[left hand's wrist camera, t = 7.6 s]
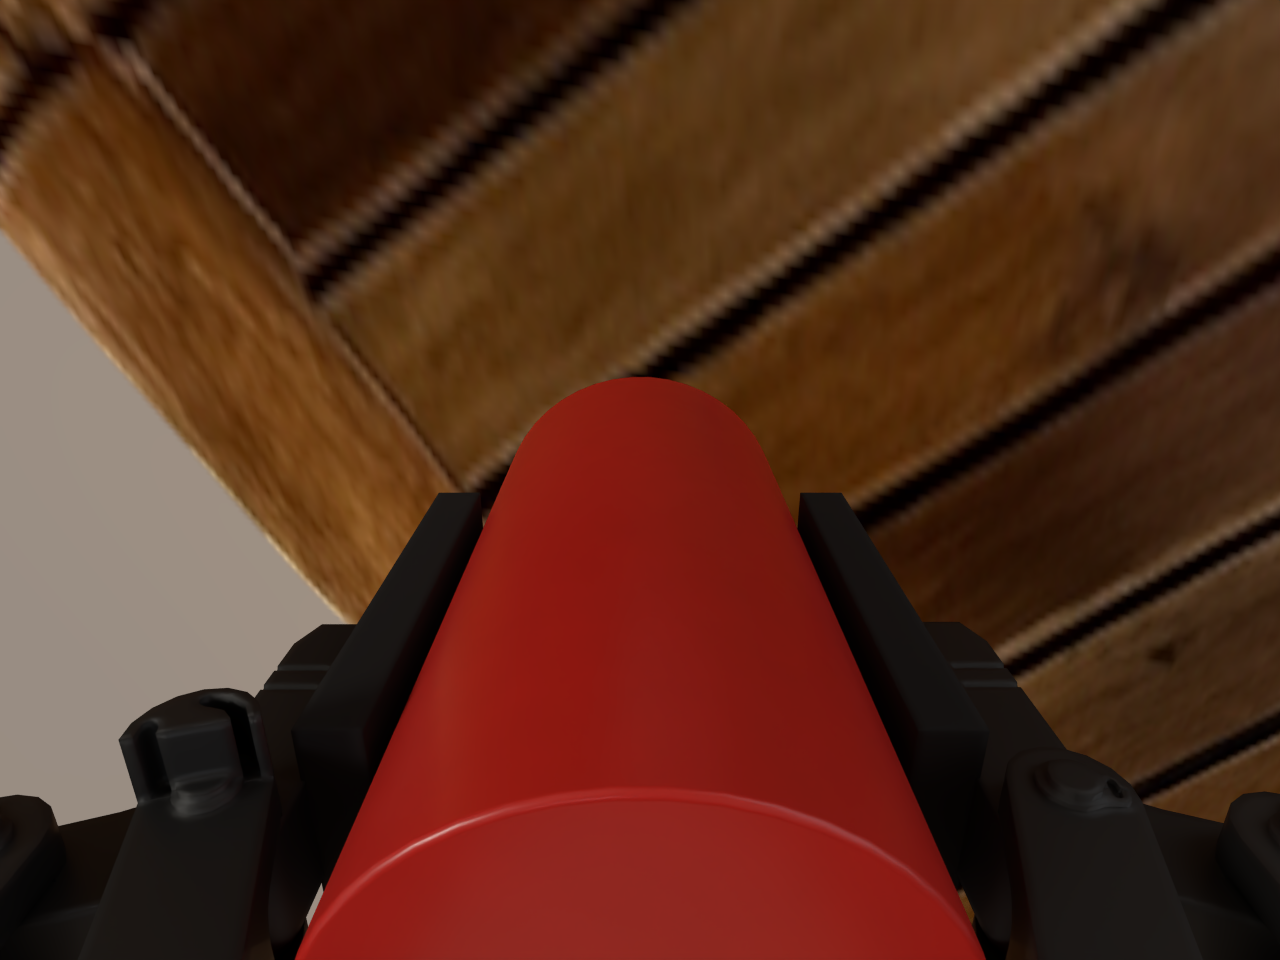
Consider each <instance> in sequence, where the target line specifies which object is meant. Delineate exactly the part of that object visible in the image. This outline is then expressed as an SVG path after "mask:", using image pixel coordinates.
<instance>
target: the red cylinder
mask: <svg viewBox="0 0 1280 960" xmlns="http://www.w3.org/2000/svg"><path fill="white" fill-rule="evenodd" d="M295 960H986V958H985V955H984V952H983V950H982V948H981V945H980V943H979V941H978V939H977V936H976V934H975V932H974V929H973V927H972V925H971V923H970V920H969V918H968V916H967V914H966V911H965V909H964V907H963V904H962V902H961V900H960V898H959V895H958V893H957V891H956V889H955V886H954V884H953V882H952V879H951V877H950V875H949V873H948V870H947V868H946V866H945V864H944V861H943V859H942V857H941V854H940V852H939V850H938V848H937V845H936V843H935V841H934V839H933V836H932V834H931V832H930V829H929V827H928V825H927V823H926V820H925V818H924V816H923V814H922V811H921V809H920V807H919V804H918V802H917V800H916V798H915V795H914V793H913V791H912V789H911V786H910V784H909V782H908V779H907V777H906V775H905V773H904V770H903V768H902V766H901V764H900V761H899V759H898V757H897V754H896V752H895V750H894V748H893V745H892V743H891V741H890V739H889V736H888V734H887V732H886V729H885V727H884V725H883V723H882V720H881V718H880V716H879V714H878V711H877V709H876V707H875V704H874V702H873V700H872V698H871V695H870V693H869V691H868V689H867V686H866V684H865V682H864V679H863V677H862V675H861V673H860V670H859V668H858V666H857V664H856V661H855V659H854V657H853V654H852V652H851V650H850V648H849V645H848V643H847V641H846V639H845V636H844V634H843V632H842V629H841V627H840V625H839V623H838V620H837V618H836V616H835V613H834V611H833V609H832V607H831V604H830V602H829V600H828V598H827V595H826V593H825V591H824V588H823V586H822V584H821V582H820V579H819V577H818V575H817V573H816V570H815V568H814V566H813V563H812V561H811V559H810V557H809V554H808V552H807V550H806V548H805V545H804V543H803V541H802V538H801V536H800V534H799V532H798V529H797V527H796V525H795V523H794V520H793V518H792V516H791V513H790V511H789V509H788V507H787V504H786V502H785V500H784V498H783V495H782V493H781V491H780V488H779V486H778V484H777V482H776V479H775V477H774V475H773V473H772V470H771V468H770V466H769V463H768V461H767V459H766V457H765V454H764V452H763V450H762V448H761V447H760V445H759V443H758V441H757V439H756V438H755V436H754V435H753V433H752V432H751V431H750V429H749V428H748V427H747V425H746V424H745V423H744V422H743V421H742V420H741V419H740V418H739V417H738V416H737V415H736V414H735V413H734V412H733V411H732V410H731V409H729V408H728V407H727V406H725V405H724V404H723V403H722V402H720V401H719V400H717V399H716V398H714V397H712V396H710V395H709V394H707V393H705V392H703V391H701V390H699V389H696V388H694V387H691V386H689V385H686V384H683V383H679V382H675V381H671V380H667V379H659V378H652V377H629V378H621V379H613V380H609V381H605V382H601V383H597V384H594V385H591V386H589V387H587V388H584V389H582V390H579V391H577V392H575V393H573V394H572V395H570V396H568V397H566V398H565V399H563V400H561V401H560V402H559V403H557V404H556V405H555V406H553V407H552V408H551V409H549V410H548V411H547V412H546V413H545V414H544V415H543V416H542V417H541V418H540V419H539V420H538V421H537V422H536V423H535V424H534V426H533V427H532V428H531V430H530V431H529V432H528V434H527V435H526V436H525V438H524V440H523V442H522V443H521V445H520V447H519V449H518V451H517V453H516V455H515V457H514V459H513V462H512V464H511V466H510V468H509V471H508V473H507V475H506V478H505V480H504V482H503V484H502V487H501V489H500V491H499V494H498V496H497V498H496V500H495V503H494V505H493V507H492V510H491V512H490V514H489V516H488V519H487V521H486V523H485V525H484V528H483V530H482V532H481V535H480V537H479V539H478V541H477V544H476V546H475V548H474V551H473V553H472V555H471V557H470V560H469V562H468V564H467V567H466V569H465V571H464V573H463V576H462V578H461V580H460V582H459V585H458V587H457V589H456V592H455V594H454V596H453V598H452V601H451V603H450V605H449V608H448V610H447V612H446V614H445V617H444V619H443V621H442V623H441V626H440V628H439V630H438V633H437V635H436V637H435V639H434V642H433V644H432V646H431V649H430V651H429V653H428V655H427V658H426V660H425V662H424V665H423V667H422V669H421V671H420V674H419V676H418V678H417V680H416V683H415V685H414V687H413V690H412V692H411V694H410V696H409V699H408V701H407V703H406V706H405V708H404V710H403V712H402V715H401V717H400V719H399V722H398V724H397V726H396V728H395V731H394V733H393V735H392V737H391V740H390V742H389V744H388V747H387V749H386V751H385V753H384V756H383V758H382V760H381V763H380V765H379V767H378V769H377V772H376V774H375V776H374V779H373V781H372V783H371V785H370V788H369V790H368V792H367V794H366V797H365V799H364V801H363V804H362V806H361V808H360V810H359V813H358V815H357V817H356V820H355V822H354V824H353V826H352V829H351V831H350V833H349V835H348V838H347V840H346V842H345V845H344V847H343V849H342V851H341V854H340V856H339V858H338V861H337V863H336V865H335V867H334V870H333V872H332V874H331V877H330V879H329V881H328V883H327V886H326V888H325V890H324V892H323V895H322V897H321V900H320V902H319V904H318V906H317V909H316V911H315V913H314V915H313V918H312V920H311V922H310V924H309V927H308V929H307V931H306V934H305V936H304V938H303V940H302V943H301V945H300V947H299V949H298V952H297V955H296V958H295Z"/></svg>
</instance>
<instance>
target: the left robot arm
mask: <svg viewBox="0 0 1280 960" xmlns="http://www.w3.org/2000/svg"><path fill="white" fill-rule="evenodd" d="M482 530H483V522H482V510H481V498H480V493H439V494H438V495H437V497H436V498H435V500H434V502H433V503H432V505H431V506H430V508H429V510H428V511H427V513H426V514H425V516H424V518H423V519H422V521H421V523H420V524H419V526H418V527H417V529H416V531H415V532H414V534H413V535H412V537H411V539H410V540H409V542H408V543H407V545H406V547H405V548H404V550H403V551H402V553H401V555H400V556H399V558H398V559H397V561H396V563H395V564H394V566H393V567H392V569H391V571H390V572H389V574H388V575H387V577H386V579H385V580H384V582H383V583H382V585H381V587H380V588H379V590H378V591H377V593H376V595H375V596H374V598H373V599H372V601H371V603H370V604H369V606H368V607H367V609H366V611H365V612H364V614H363V615H362V617H361V619H360V620H359V622H358V623H357V624H322V625H320V626H319V627H318V628H316V629H315V630H313V631H312V632H310V633H309V634H308V635H306V636H305V637H303V638H302V639H300V640H299V641H297V642H296V643H295V644H294V645H293V646H292V647H291V649H290V650H289V652H288V653H287V654H286V656H285V657H284V658H283V660H282V661H281V662H280V664H279V665H278V670H277V671H274V672H273V673H272V675H271V676H270V677H269V679H268V680H267V682H266V683H265V684H264V689H263V690H260V691H259V693H258V694H257V695H256V697H255V698H254V697H253V696H252V695H250V694H249V693H248V692H244V691H240V690H235V689H231V688H220V689H204V690H200V691H197V692H192V693H189V694H185V695H181V696H177V697H175V698H173V699H171V700H169V701H166V702H164V703H162V704H160V705H158V706H156V707H153V708H152V709H150V710H149V711H147V712H146V713H145V714H143V715H142V716H141V717H139V718H138V719H136V720H135V721H134V722H132V723H131V724H130V726H129V727H128V728H127V730H126V731H125V732H124V734H123V735H122V736H121V737H120V739H119V743H120V746H121V749H122V753H123V756H124V759H125V763H126V766H127V769H128V772H129V776H130V779H131V782H132V785H133V789H134V792H135V795H136V798H137V802H138V804H137V807H136V808H132V809H129V810H126V811H122V812H119V813H114V814H110V815H106V816H101V817H97V818H92V819H88V820H84V821H79V822H75V823H70V824H66V825H62V826H58V825H57V822H56V819H55V817H54V814H53V811H52V808H51V806H50V805H48V804H47V803H46V802H44V801H43V800H42V799H40V798H39V797H33V796H24V795H12V796H6V797H0V960H295V958H296V955H297V952H298V949H299V947H300V945H301V943H302V940H303V938H304V936H305V934H306V931H307V929H308V924H307V920H306V916H307V914H308V912H309V910H310V907H311V905H312V903H313V901H314V898H315V896H316V894H317V892H318V889H319V887H320V885H321V883H322V887H323V892H324V890H325V888H326V886H327V883H328V881H329V879H330V877H331V874H332V872H333V870H334V867H335V865H336V863H337V861H338V858H339V856H340V854H341V851H342V849H343V847H344V845H345V842H346V840H347V838H348V835H349V833H350V831H351V829H352V826H353V824H354V822H355V820H356V817H357V815H358V813H359V810H360V808H361V806H362V804H363V801H364V799H365V797H366V794H367V792H368V790H369V788H370V785H371V783H372V781H373V779H374V776H375V774H376V772H377V769H378V767H379V765H380V763H381V760H382V758H383V756H384V753H385V751H386V749H387V747H388V744H389V742H390V740H391V737H392V735H393V733H394V731H395V728H396V726H397V724H398V722H399V719H400V717H401V715H402V712H403V710H404V708H405V706H406V703H407V701H408V699H409V696H410V694H411V692H412V690H413V687H414V685H415V683H416V680H417V678H418V676H419V674H420V671H421V669H422V667H423V665H424V662H425V660H426V658H427V655H428V653H429V651H430V649H431V646H432V644H433V642H434V639H435V637H436V635H437V633H438V630H439V628H440V626H441V623H442V621H443V619H444V617H445V614H446V612H447V610H448V608H449V605H450V603H451V601H452V598H453V596H454V594H455V592H456V589H457V587H458V585H459V582H460V580H461V578H462V576H463V573H464V571H465V569H466V567H467V564H468V562H469V560H470V557H471V555H472V553H473V551H474V548H475V546H476V544H477V541H478V539H479V537H480V535H481V532H482ZM798 532H799V534H800V536H801V538H802V541H803V543H804V545H805V548H806V550H807V552H808V554H809V557H810V559H811V561H812V563H813V566H814V568H815V570H816V573H817V575H818V577H819V579H820V582H821V584H822V586H823V588H824V591H825V593H826V595H827V598H828V600H829V602H830V604H831V607H832V609H833V611H834V613H835V616H836V618H837V620H838V623H839V625H840V627H841V629H842V632H843V634H844V636H845V639H846V641H847V643H848V645H849V648H850V650H851V652H852V654H853V657H854V659H855V661H856V664H857V666H858V668H859V670H860V673H861V675H862V677H863V679H864V682H865V684H866V686H867V689H868V691H869V693H870V695H871V698H872V700H873V702H874V704H875V707H876V709H877V711H878V714H879V716H880V718H881V720H882V723H883V725H884V727H885V729H886V732H887V734H888V736H889V739H890V741H891V743H892V745H893V748H894V750H895V752H896V754H897V757H898V759H899V761H900V764H901V766H902V768H903V770H904V773H905V775H906V777H907V779H908V782H909V784H910V786H911V789H912V791H913V793H914V795H915V798H916V800H917V802H918V804H919V807H920V809H921V811H922V814H923V816H924V818H925V820H926V823H927V825H928V827H929V829H930V832H931V834H932V836H933V839H934V841H935V843H936V845H937V848H938V850H939V852H940V854H941V857H942V859H943V861H944V864H945V866H946V868H947V870H948V873H949V875H950V877H951V879H952V882H953V884H954V886H955V889H956V891H957V889H958V884H959V880H960V882H961V885H962V887H963V889H964V891H965V893H966V896H967V898H968V900H969V902H970V905H971V907H972V909H973V911H974V913H975V915H974V920H973V924H972V927H973V929H974V932H975V934H976V936H977V939H978V941H979V943H980V945H981V948H982V950H983V952H984V955H985V958H986V960H1280V794H1277V793H1270V792H1257V793H1248V794H1243V795H1241V796H1240V797H1239V798H1237V799H1236V800H1235V801H1233V802H1232V803H1231V805H1230V807H1229V810H1228V813H1227V816H1226V819H1225V821H1224V823H1220V822H1215V821H1211V820H1207V819H1202V818H1198V817H1193V816H1189V815H1185V814H1180V813H1176V812H1171V811H1167V810H1162V809H1159V808H1156V807H1152V806H1149V805H1145V804H1143V803H1142V801H1141V800H1140V798H1139V797H1138V795H1137V794H1136V792H1135V791H1134V789H1133V787H1132V786H1131V784H1129V783H1128V782H1127V781H1126V780H1124V779H1123V778H1122V777H1121V776H1120V775H1118V774H1117V773H1116V772H1115V771H1114V770H1112V769H1111V768H1109V767H1108V766H1106V765H1104V764H1102V763H1100V762H1098V761H1096V760H1094V759H1092V758H1090V757H1088V756H1086V755H1083V754H1079V753H1076V752H1072V751H1069V750H1067V749H1066V748H1065V747H1064V745H1063V744H1062V743H1061V741H1060V740H1059V739H1058V737H1057V736H1056V735H1055V733H1054V732H1053V730H1052V729H1051V728H1050V726H1049V725H1048V724H1047V722H1046V721H1045V720H1044V718H1043V717H1042V716H1041V714H1040V713H1039V711H1038V710H1037V709H1036V707H1035V706H1034V705H1033V703H1032V702H1031V701H1030V699H1029V698H1028V697H1027V695H1026V694H1025V692H1024V691H1023V690H1022V688H1021V687H1017V682H1016V680H1015V679H1014V678H1013V676H1012V675H1011V673H1010V672H1009V671H1008V669H1007V668H1004V667H1003V663H1002V661H1001V660H1000V658H999V657H998V656H997V654H996V653H995V652H994V650H993V649H992V648H991V646H990V645H989V644H988V642H987V641H986V640H984V639H983V638H981V637H980V636H978V635H977V634H975V633H974V632H973V631H971V630H970V629H968V628H967V627H965V626H964V625H962V624H961V623H960V622H922V621H921V619H920V618H919V616H918V615H917V613H916V611H915V610H914V608H913V607H912V605H911V603H910V602H909V600H908V599H907V597H906V595H905V594H904V592H903V591H902V589H901V587H900V586H899V584H898V583H897V581H896V579H895V578H894V576H893V575H892V573H891V571H890V570H889V568H888V567H887V565H886V563H885V562H884V560H883V558H882V557H881V555H880V554H879V552H878V550H877V549H876V547H875V546H874V544H873V542H872V541H871V539H870V538H869V536H868V534H867V533H866V531H865V530H864V528H863V526H862V525H861V523H860V522H859V520H858V518H857V517H856V515H855V514H854V512H853V510H852V509H851V507H850V506H849V504H848V502H847V501H846V499H845V498H844V496H843V494H842V493H800V504H799V516H798Z"/></svg>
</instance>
